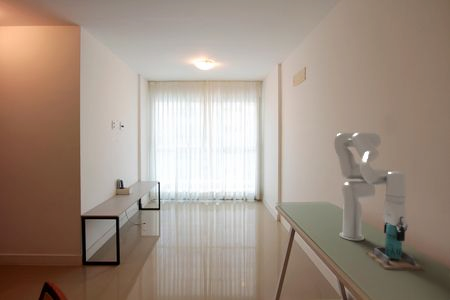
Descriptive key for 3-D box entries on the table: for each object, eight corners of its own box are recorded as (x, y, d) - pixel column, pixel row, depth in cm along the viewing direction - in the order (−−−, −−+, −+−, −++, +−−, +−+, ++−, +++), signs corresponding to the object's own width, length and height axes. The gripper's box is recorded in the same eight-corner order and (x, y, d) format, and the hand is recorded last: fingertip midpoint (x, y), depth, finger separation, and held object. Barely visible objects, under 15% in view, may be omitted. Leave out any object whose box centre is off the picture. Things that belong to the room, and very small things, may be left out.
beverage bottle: (385, 254, 128) (387, 212, 127) (402, 258, 124) (404, 215, 123) (383, 259, 123) (385, 215, 122) (400, 263, 119) (402, 218, 118)
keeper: (366, 253, 131) (366, 245, 131) (399, 254, 131) (400, 246, 131) (384, 269, 116) (385, 259, 115) (423, 270, 115) (423, 260, 115)
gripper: (376, 195, 131) (375, 230, 132) (398, 203, 114) (397, 243, 114) (392, 195, 131) (390, 230, 132) (416, 203, 114) (415, 244, 114)
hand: (393, 236), depth 123 cm, fingers open, 9 cm apart
